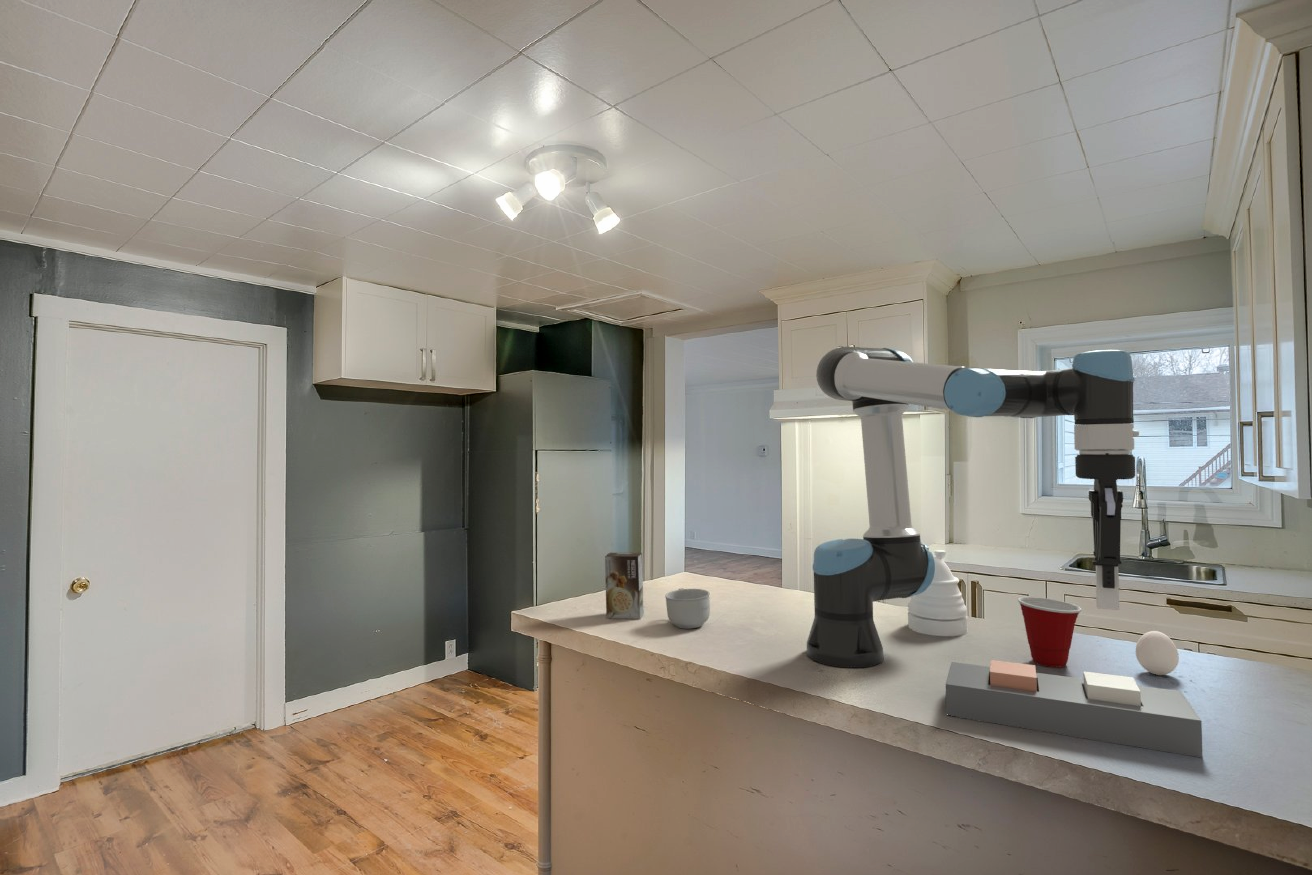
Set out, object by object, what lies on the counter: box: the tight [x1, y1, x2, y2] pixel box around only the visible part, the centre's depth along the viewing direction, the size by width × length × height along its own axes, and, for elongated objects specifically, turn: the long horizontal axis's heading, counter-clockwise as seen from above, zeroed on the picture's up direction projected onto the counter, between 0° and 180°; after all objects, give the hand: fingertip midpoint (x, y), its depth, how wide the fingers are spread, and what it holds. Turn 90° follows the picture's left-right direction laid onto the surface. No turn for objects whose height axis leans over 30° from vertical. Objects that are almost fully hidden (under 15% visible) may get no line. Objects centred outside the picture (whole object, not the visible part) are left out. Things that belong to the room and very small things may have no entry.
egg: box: [1135, 630, 1180, 676], centre depth 121 cm, size 6×6×8 cm
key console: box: [945, 661, 1204, 758], centre depth 102 cm, size 32×12×5 cm, turn 62°
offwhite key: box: [1082, 671, 1141, 706], centre depth 99 cm, size 6×6×4 cm
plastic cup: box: [1017, 596, 1082, 668], centre depth 128 cm, size 11×11×12 cm
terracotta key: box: [989, 659, 1037, 692], centre depth 105 cm, size 6×6×4 cm
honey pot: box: [907, 549, 969, 637], centre depth 154 cm, size 13×13×18 cm
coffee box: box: [604, 552, 645, 620], centre depth 170 cm, size 9×6×16 cm
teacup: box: [664, 587, 711, 630], centre depth 161 cm, size 14×11×8 cm
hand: (1107, 607), depth 99 cm, fingers closed
